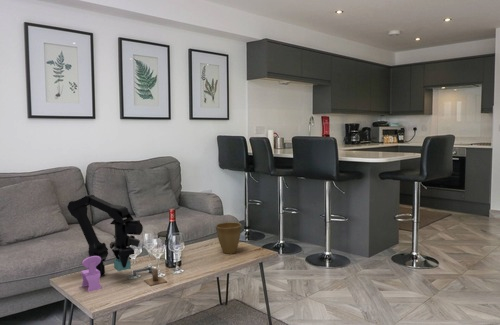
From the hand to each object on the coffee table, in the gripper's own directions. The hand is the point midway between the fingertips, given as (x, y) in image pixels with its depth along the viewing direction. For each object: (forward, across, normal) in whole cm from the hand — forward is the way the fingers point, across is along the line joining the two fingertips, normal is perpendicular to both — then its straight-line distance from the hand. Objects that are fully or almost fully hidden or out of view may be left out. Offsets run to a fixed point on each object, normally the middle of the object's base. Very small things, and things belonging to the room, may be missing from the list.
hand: (122, 265), depth 195 cm
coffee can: (+6, +18, -31) cm, 36 cm away
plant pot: (+6, +6, -64) cm, 65 cm away
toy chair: (+6, -3, +15) cm, 17 cm away
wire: (+6, -3, -10) cm, 12 cm away
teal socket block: (+1, 0, 0) cm, 1 cm away
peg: (+6, -14, -11) cm, 19 cm away
